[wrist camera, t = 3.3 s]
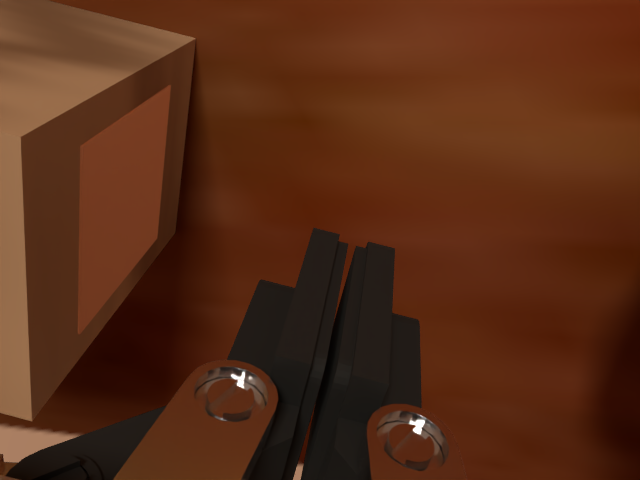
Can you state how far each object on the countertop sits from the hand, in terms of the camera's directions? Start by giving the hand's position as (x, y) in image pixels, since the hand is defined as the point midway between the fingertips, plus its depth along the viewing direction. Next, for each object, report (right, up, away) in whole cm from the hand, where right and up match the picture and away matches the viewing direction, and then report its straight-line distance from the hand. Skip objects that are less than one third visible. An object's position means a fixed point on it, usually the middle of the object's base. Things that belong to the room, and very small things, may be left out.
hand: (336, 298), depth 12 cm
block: (-7, +5, +5) cm, 10 cm away
